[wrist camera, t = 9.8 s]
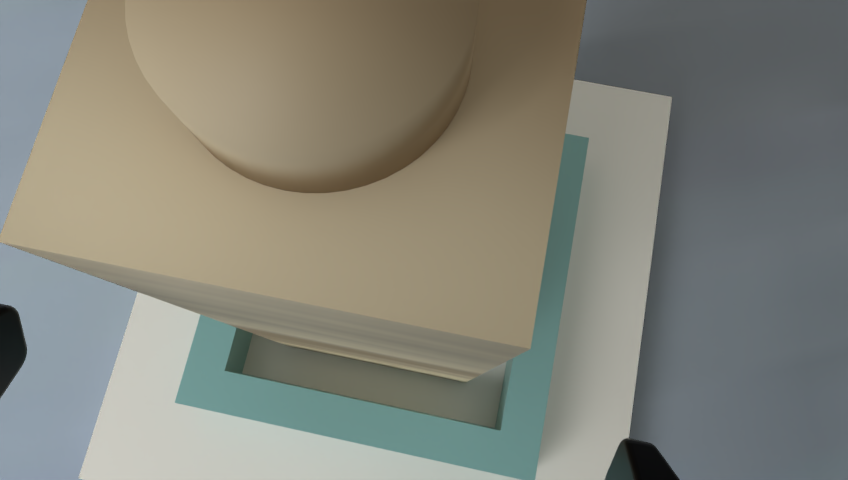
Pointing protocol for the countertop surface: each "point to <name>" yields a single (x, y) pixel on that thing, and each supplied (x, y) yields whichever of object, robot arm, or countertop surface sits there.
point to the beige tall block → (314, 168)
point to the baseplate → (410, 391)
